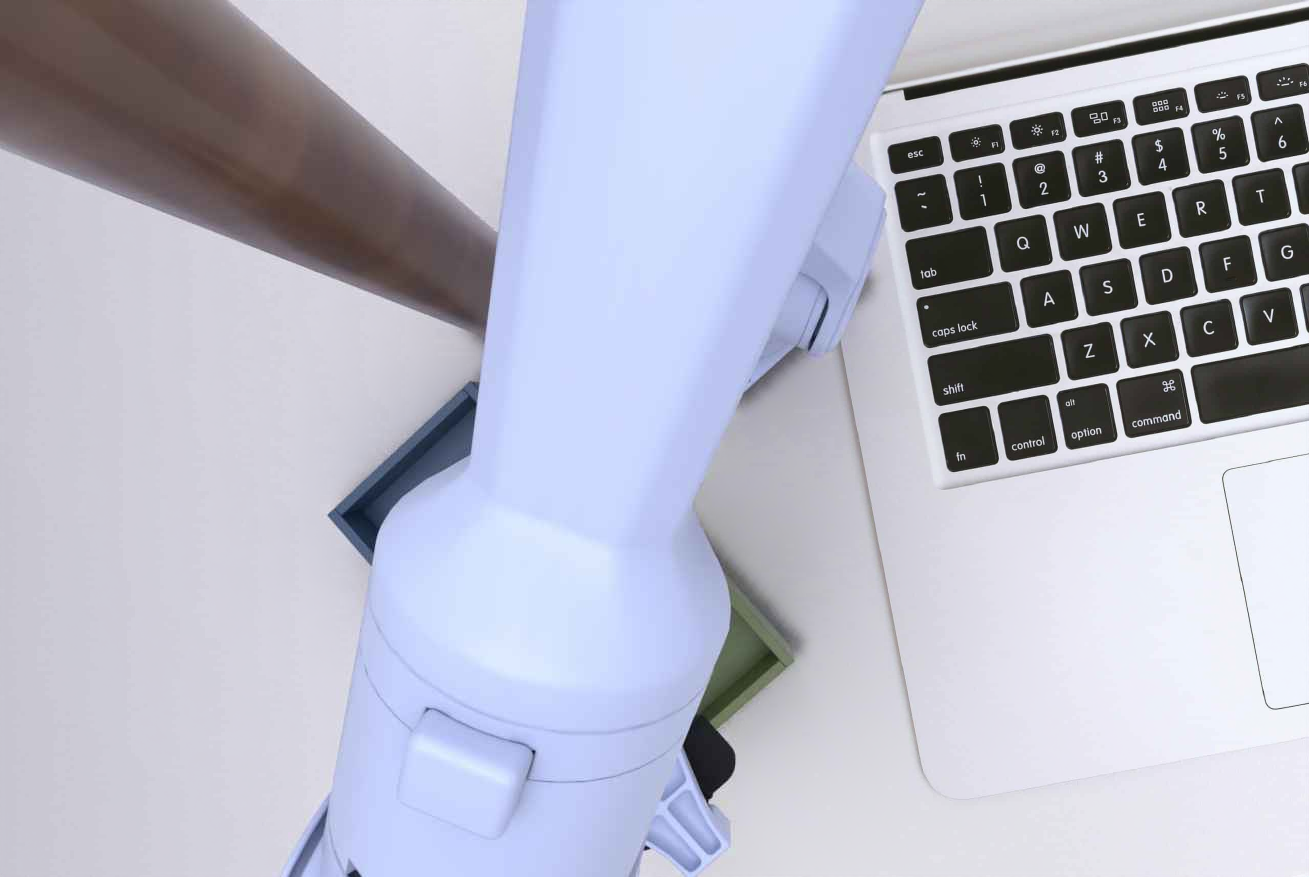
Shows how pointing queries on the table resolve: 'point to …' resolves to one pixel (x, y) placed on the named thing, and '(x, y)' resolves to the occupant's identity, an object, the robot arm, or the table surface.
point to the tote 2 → (743, 660)
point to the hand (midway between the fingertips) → (609, 646)
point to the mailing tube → (235, 145)
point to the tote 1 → (408, 470)
